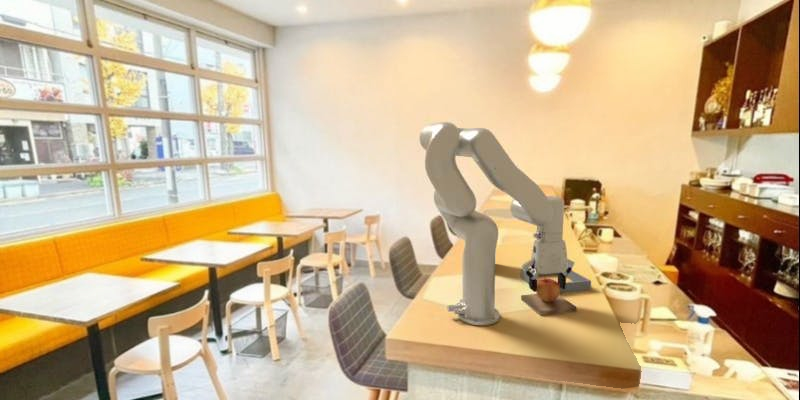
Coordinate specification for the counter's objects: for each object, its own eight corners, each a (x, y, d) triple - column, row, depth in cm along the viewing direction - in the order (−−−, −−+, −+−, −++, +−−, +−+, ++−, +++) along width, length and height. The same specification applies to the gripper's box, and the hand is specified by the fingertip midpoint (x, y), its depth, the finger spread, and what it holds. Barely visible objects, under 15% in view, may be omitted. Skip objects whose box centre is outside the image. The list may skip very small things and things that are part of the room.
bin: (544, 295, 129) (545, 285, 128) (520, 277, 146) (520, 268, 145) (590, 290, 132) (591, 280, 131) (561, 273, 149) (561, 264, 148)
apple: (547, 307, 116) (548, 282, 115) (530, 299, 123) (530, 275, 121) (565, 302, 119) (565, 278, 118) (547, 294, 126) (547, 271, 124)
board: (540, 315, 114) (540, 311, 114) (521, 299, 126) (521, 295, 126) (576, 311, 116) (576, 306, 116) (554, 296, 128) (554, 291, 128)
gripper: (529, 241, 113) (527, 295, 115) (582, 237, 115) (579, 291, 118) (517, 235, 120) (516, 286, 122) (567, 231, 123) (565, 282, 125)
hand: (547, 288), depth 120 cm, fingers open, 9 cm apart
